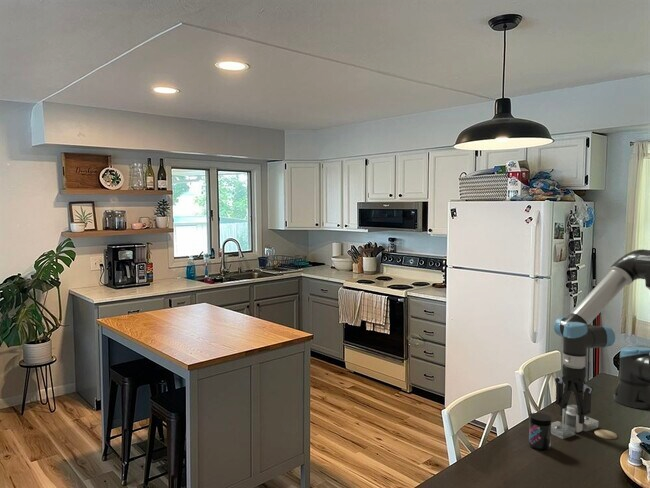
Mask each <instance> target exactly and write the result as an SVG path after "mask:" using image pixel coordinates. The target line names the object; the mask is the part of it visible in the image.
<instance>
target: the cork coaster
mask: <svg viewBox="0 0 650 488" xmlns="http://www.w3.org/2000/svg"><path fill="white" fill-rule="evenodd" d="M594 435H596V436H597V437H599V438H600V439H601V438H602V439H604V440H616V439H617V438H618V435H617V434H616V433H615V432H614V431H611V430H607V429H596V430H594Z"/></svg>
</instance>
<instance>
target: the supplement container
mask: <svg viewBox="0 0 650 488" xmlns="http://www.w3.org/2000/svg"><path fill="white" fill-rule="evenodd" d="M551 423H552V417H551V415H548V414H545V413H541V412H532V413H530V414H529V425H528V426H529V433H528V436H529V437H528V444H529V446H530V447H531V449H534V450H537V451H538V452H539V451H541V452H546V451H547V452H548V451H549V450H550V449H551V445H552V444H551V443H552V442H551V439H552V437H551V436H552V434H551Z"/></svg>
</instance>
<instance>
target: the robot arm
mask: <svg viewBox="0 0 650 488" xmlns="http://www.w3.org/2000/svg"><path fill="white" fill-rule="evenodd" d="M607 270H608V271H607V272H608V273H607V274H606V275H605V276H604V277H603V278H602V280H600V282H599V283H597V285H595V287H594V288H593V289H592V290H591V291H590V292H589V293H588V294H587V295H586V297H584V299H582V301H581V302H580V303H579V304H578V305H577V306H576V307H575V308H574V309H573V310H572V311H571V312H570V314H569V315H567V317H558V318H557V319H556V320H555V321H554V322H553V330H554V331H553V332H554V333H555V334H556V335H557V336H560V337H562V339H563V340H562V341H563V343H562V345H563V346H562V347H563V349H562V364H563V365H562V372H561V373H562V376H558V377H556V378H555V379H554V381H555V384H556V385H555V387H556V388H555V404H556V405H558V406H559V407H560V416H561V422H562V423H564V424H565V420H566V410H567V405H569V401H570V398H571V394H572V392H573V395H574V397H575V403H576V406H577V408H578V413H577V414H576V432H575V433H581V432H583V430H582V424H583V423H584V422H585V416H588V415H590V414H591V412H592V411H591V410H592V409H591V407H592V393H593V392H594V391H593V390H594V388H593V387H592V386H590V387H589V386H588V385H587V384H586V380H585V379H586V377H587V375H586V374H587V369H586V367H587V352H588V351H587V349H597V348H598V349H599V348H603V349H604V348H606V347H611V346H612V345H613V344H614V343H616V333H615V331H614V330H613V329H612V328H611V327H609V326H607V325H597V326H596V325H592V324H591V323H592V322H593V321H594V320H596V318H597V317H598V316H599V314H601V312H603V310H604V309H605V308H606V307H607V306H608V305H609V304H610V303H611V301H612V300H613V299H615V297H616V296H617V295H618V294H619V293H620V292H621V291H622V290H623V289H624V288H625V287H626V286H629V285H631V284H632V283H633V282H634V281H636V280H639V279H640V280H644V281H645V287H646V288H647V289H648V290H650V249H636V250H633V251H631V252H629V253H626V254H624V255H623V256H622V257H620V258H619V259H617V260H616V261H615V262H614V263H612V265H611V266H610V267H609V268H608V269H607ZM618 369H619V373H618V375H619V376H618V377H619V378H618V383H617V386H616V387H615V390H614V393H613V401H615V402H616V403H618V404H620V405H622V406H626V407H628V408H629V407H630V408H634V409H640V410H642V409H643V410H650V347H645V346H625V347H623V348H621V349H620V354H619V367H618Z"/></svg>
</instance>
